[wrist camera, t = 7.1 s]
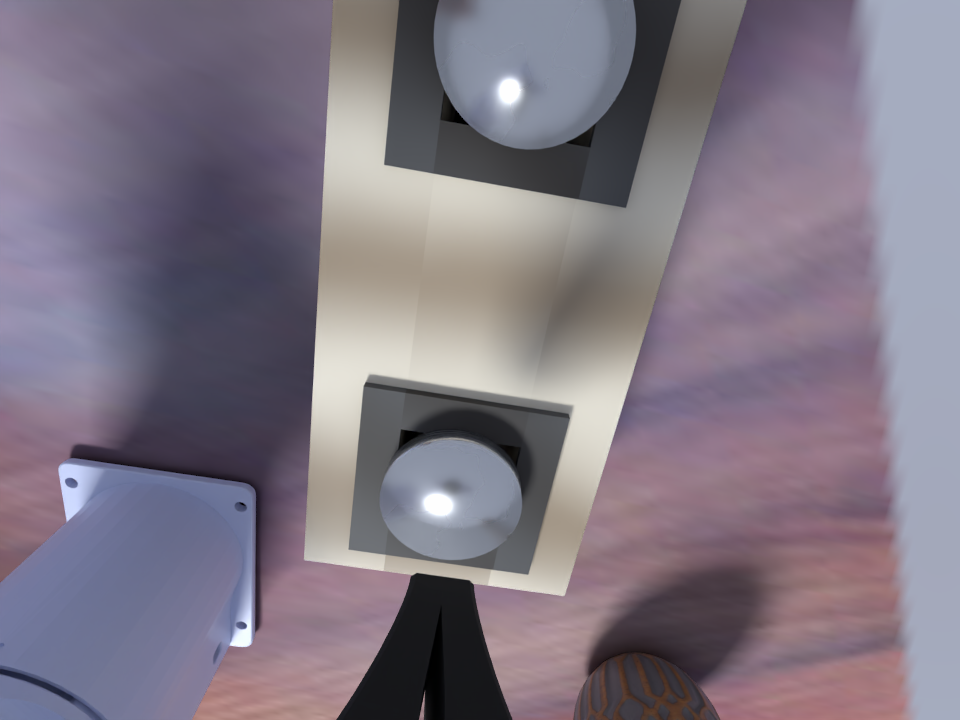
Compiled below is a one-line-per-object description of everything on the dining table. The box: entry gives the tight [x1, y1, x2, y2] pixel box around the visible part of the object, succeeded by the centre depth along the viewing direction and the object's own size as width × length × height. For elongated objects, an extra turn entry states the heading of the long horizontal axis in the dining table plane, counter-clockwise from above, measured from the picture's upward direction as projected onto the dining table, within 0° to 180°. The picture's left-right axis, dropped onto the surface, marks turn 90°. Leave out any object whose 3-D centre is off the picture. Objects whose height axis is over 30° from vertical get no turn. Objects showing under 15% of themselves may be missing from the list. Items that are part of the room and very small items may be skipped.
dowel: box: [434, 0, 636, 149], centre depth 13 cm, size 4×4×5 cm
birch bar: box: [304, 0, 747, 596], centre depth 17 cm, size 20×9×5 cm, turn 170°
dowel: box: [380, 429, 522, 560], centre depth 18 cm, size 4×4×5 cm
